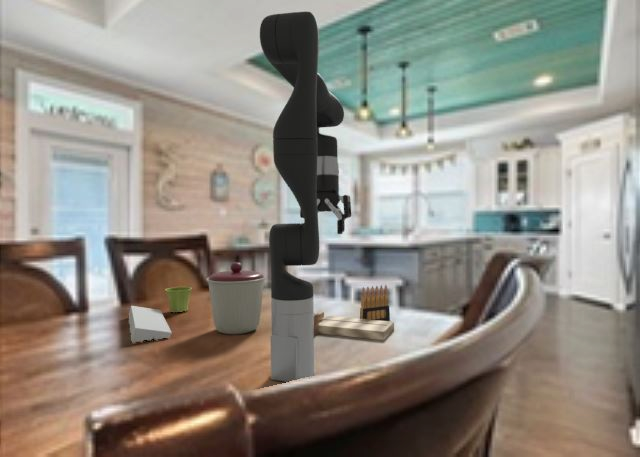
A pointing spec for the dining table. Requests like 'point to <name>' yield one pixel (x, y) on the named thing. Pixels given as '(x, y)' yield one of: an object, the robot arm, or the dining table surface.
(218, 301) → the canister
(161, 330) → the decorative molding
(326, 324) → the board
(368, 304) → the ammunition clip
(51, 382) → the dining table surface
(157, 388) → the dining table surface
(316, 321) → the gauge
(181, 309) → the plant pot
